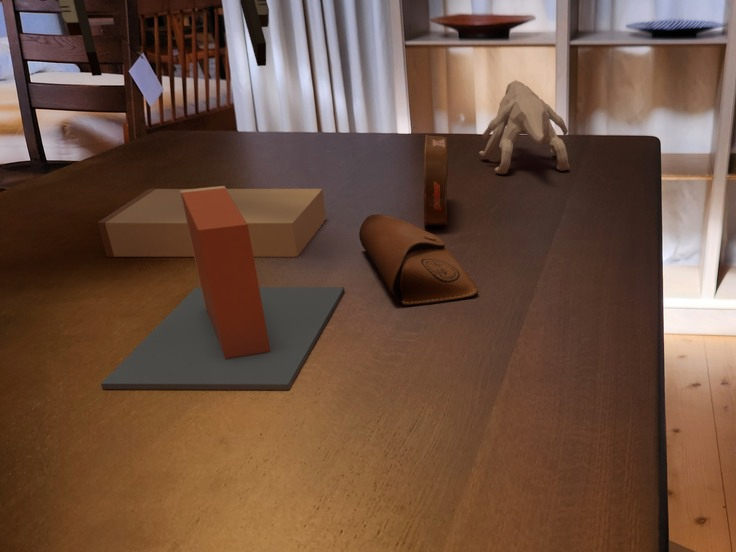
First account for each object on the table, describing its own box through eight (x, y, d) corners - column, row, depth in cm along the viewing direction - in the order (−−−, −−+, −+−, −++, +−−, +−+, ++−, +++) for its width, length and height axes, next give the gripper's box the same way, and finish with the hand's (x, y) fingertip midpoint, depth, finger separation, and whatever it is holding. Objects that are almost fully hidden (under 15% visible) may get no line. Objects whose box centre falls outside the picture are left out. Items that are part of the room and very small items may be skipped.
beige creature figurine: (551, 147, 135) (552, 75, 129) (593, 187, 115) (596, 103, 109) (473, 151, 133) (470, 78, 128) (501, 192, 113) (499, 107, 107)
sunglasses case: (486, 291, 81) (446, 231, 77) (424, 337, 81) (381, 280, 77) (437, 237, 95) (401, 184, 91) (384, 277, 95) (346, 226, 91)
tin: (426, 200, 110) (421, 127, 105) (451, 200, 110) (447, 127, 105) (423, 236, 97) (417, 155, 92) (452, 235, 97) (447, 154, 93)
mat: (102, 389, 66) (100, 383, 65) (196, 292, 83) (195, 286, 83) (288, 390, 65) (287, 384, 65) (344, 292, 82) (344, 286, 82)
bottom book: (106, 257, 92) (97, 222, 90) (156, 220, 104) (149, 188, 102) (297, 257, 91) (292, 222, 89) (326, 220, 103) (322, 188, 101)
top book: (224, 360, 69) (196, 229, 63) (205, 308, 78) (179, 190, 72) (271, 352, 70) (248, 222, 64) (247, 302, 79) (224, 185, 73)
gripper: (269, -112, 85) (323, 80, 82) (-19, -113, 77) (30, 99, 74) (269, -188, 78) (329, 19, 75) (-47, -197, 70) (5, 33, 67)
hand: (180, 59), depth 75 cm, fingers open, 13 cm apart
